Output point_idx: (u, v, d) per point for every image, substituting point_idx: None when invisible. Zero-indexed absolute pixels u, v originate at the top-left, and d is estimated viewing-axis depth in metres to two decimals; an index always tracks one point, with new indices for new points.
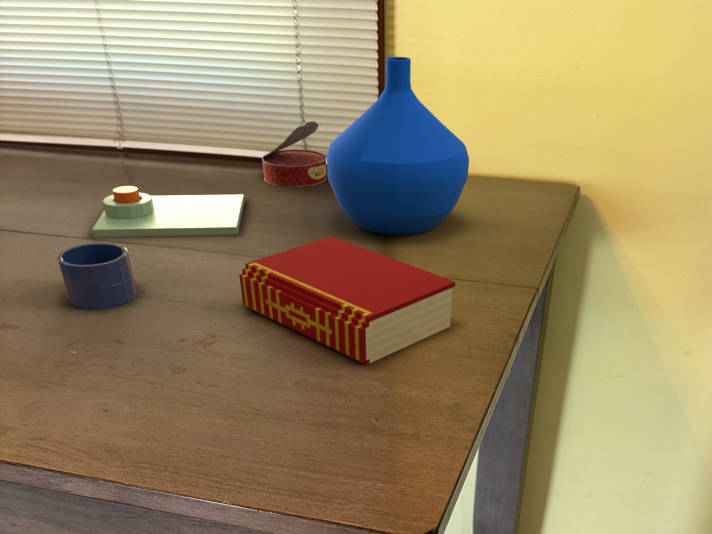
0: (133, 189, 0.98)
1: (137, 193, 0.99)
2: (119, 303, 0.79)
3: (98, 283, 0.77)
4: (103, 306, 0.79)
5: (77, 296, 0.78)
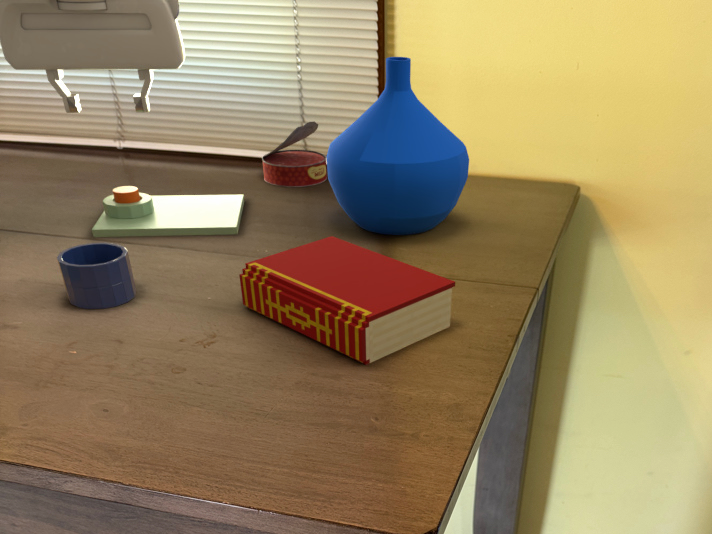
0: (133, 189, 0.98)
1: (137, 193, 0.99)
2: (119, 303, 0.79)
3: (98, 283, 0.77)
4: (103, 306, 0.79)
5: (77, 296, 0.78)
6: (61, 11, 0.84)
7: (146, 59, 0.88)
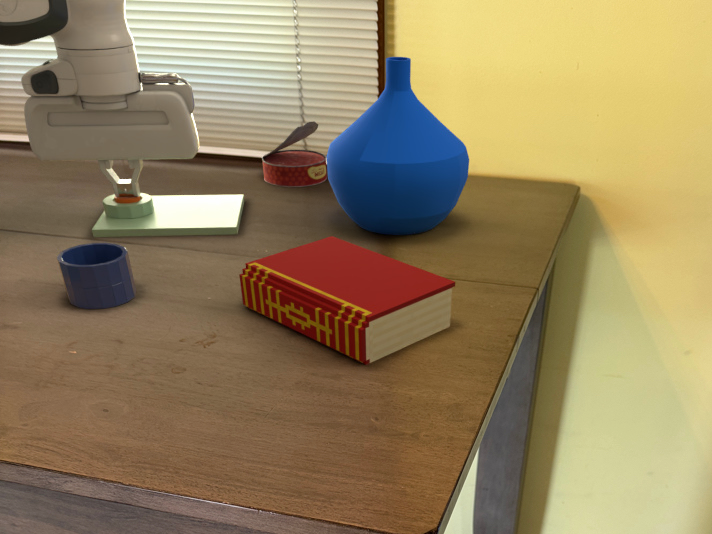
0: None
1: (139, 200, 0.99)
2: (119, 303, 0.79)
3: (98, 283, 0.77)
4: (103, 306, 0.79)
5: (77, 296, 0.78)
6: (85, 110, 0.91)
7: (163, 150, 0.94)
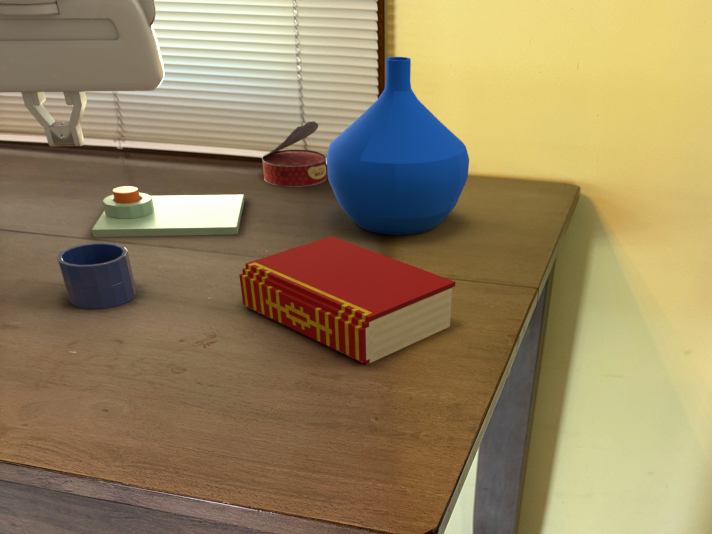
0: (133, 189, 0.99)
1: (137, 193, 0.99)
2: (119, 303, 0.79)
3: (98, 283, 0.77)
4: (103, 306, 0.79)
5: (77, 296, 0.78)
6: None
7: (113, 78, 0.67)
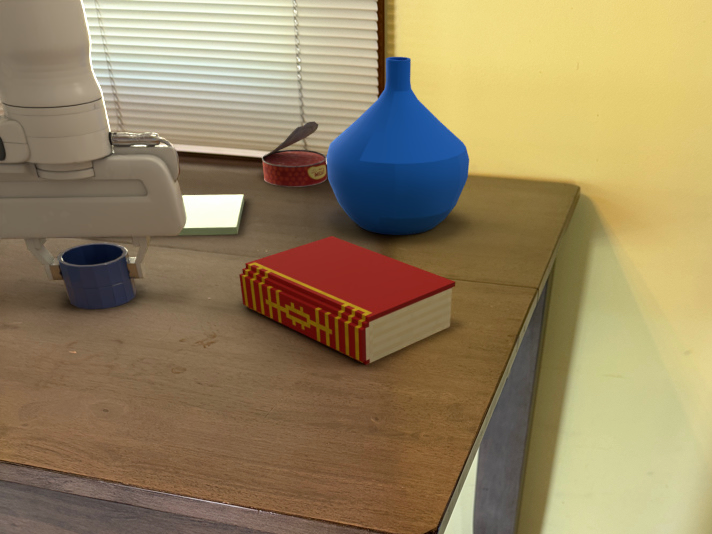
0: None
1: None
2: (119, 303, 0.79)
3: (98, 283, 0.77)
4: (103, 306, 0.79)
5: (77, 296, 0.78)
6: (41, 179, 0.72)
7: (141, 227, 0.75)
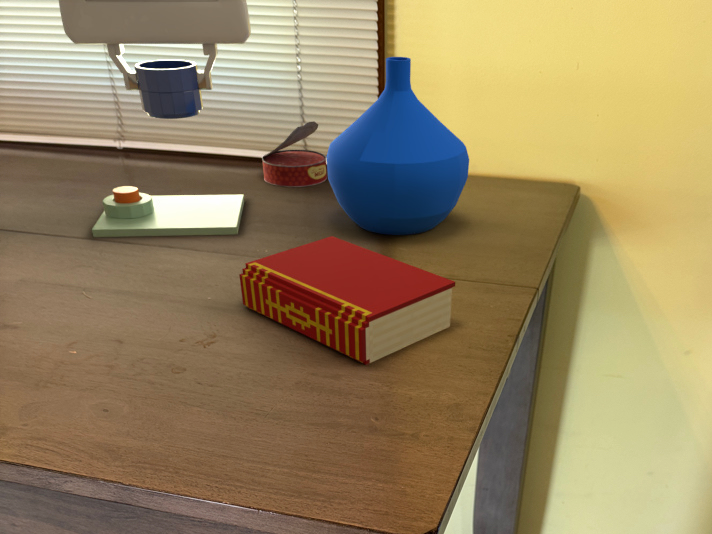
0: (133, 189, 0.99)
1: (137, 193, 0.99)
2: (189, 111, 0.88)
3: (172, 88, 0.85)
4: (175, 112, 0.87)
5: (152, 102, 0.86)
6: None
7: (212, 33, 0.84)
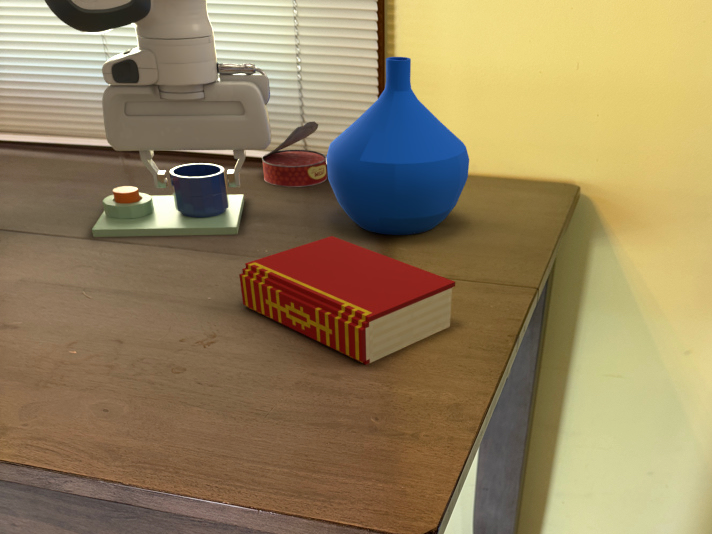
0: (133, 189, 0.99)
1: (137, 193, 0.99)
2: (217, 210, 0.99)
3: (203, 192, 0.96)
4: (205, 212, 0.98)
5: (185, 204, 0.97)
6: (162, 100, 0.91)
7: (238, 141, 0.94)
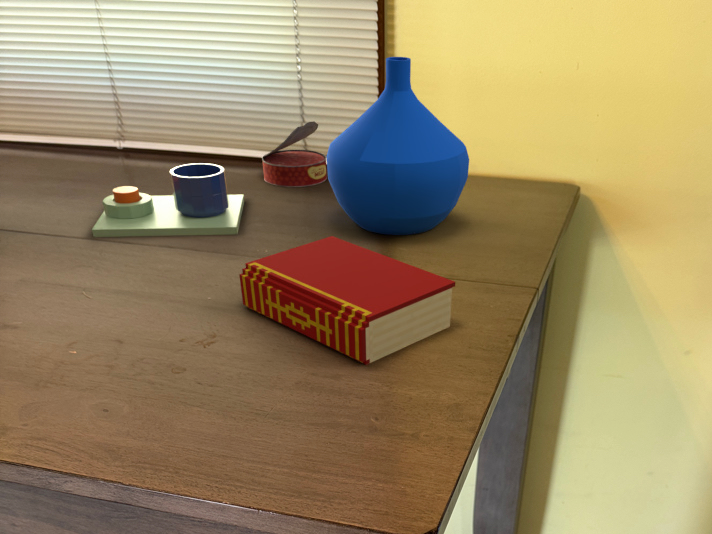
0: (133, 189, 0.99)
1: (137, 193, 0.99)
2: (217, 210, 0.99)
3: (203, 192, 0.96)
4: (205, 212, 0.98)
5: (185, 204, 0.97)
6: None
7: None
